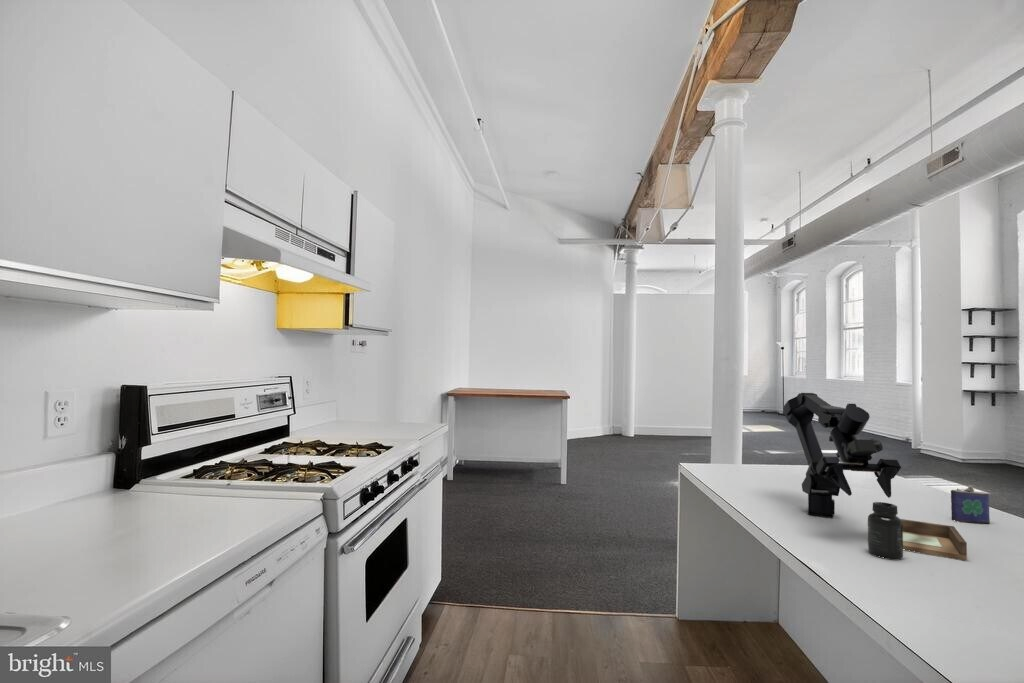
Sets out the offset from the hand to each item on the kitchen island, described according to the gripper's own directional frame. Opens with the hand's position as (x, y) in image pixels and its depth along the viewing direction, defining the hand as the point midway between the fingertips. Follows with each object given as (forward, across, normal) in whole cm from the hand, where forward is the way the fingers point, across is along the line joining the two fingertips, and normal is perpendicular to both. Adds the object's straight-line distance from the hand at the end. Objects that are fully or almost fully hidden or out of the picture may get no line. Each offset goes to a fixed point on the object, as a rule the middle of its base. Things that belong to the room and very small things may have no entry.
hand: (870, 495), depth 131 cm
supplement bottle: (+14, 0, +4) cm, 14 cm away
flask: (-11, +42, +29) cm, 52 cm away
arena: (+7, +13, +11) cm, 18 cm away
